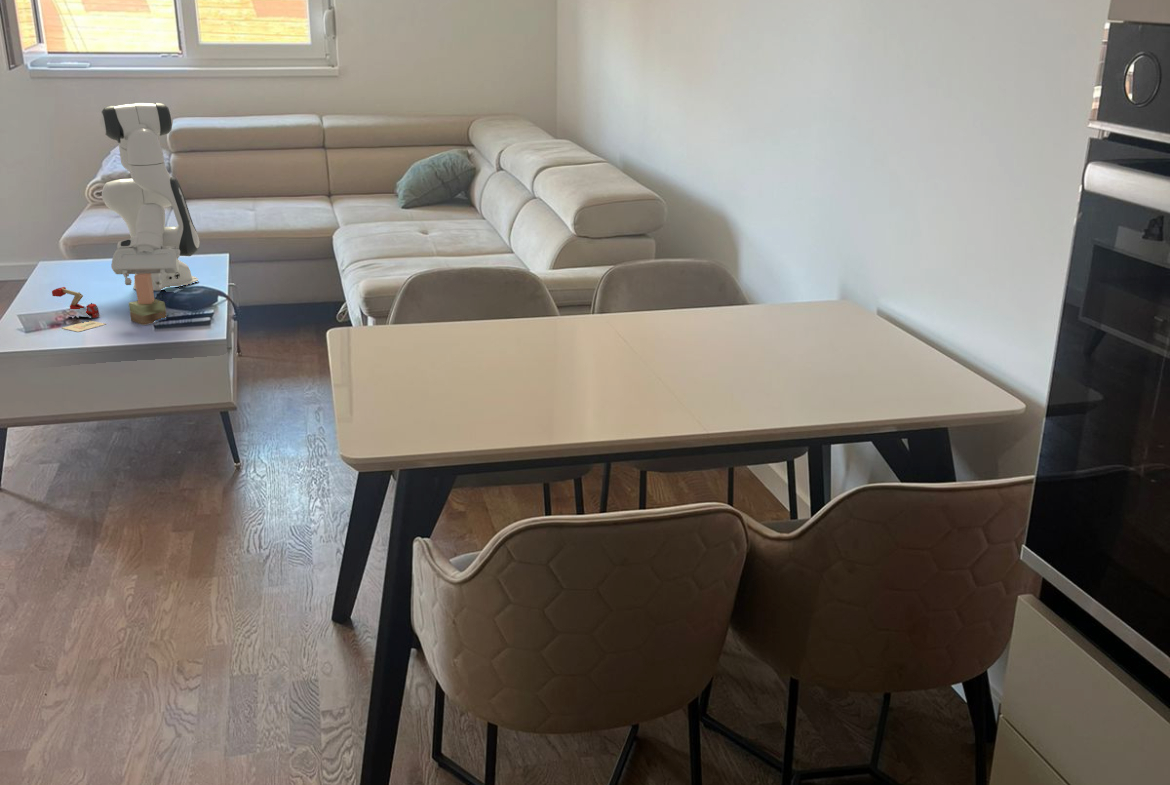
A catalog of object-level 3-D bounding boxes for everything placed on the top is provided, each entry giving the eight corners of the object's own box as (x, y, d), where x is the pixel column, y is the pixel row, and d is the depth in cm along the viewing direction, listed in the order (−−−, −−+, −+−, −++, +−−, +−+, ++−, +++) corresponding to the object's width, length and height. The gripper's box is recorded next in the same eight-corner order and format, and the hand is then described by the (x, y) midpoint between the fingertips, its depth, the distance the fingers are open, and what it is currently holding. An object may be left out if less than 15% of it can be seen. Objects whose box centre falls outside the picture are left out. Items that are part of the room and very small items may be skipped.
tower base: (154, 315, 350) (151, 297, 348) (167, 319, 345) (164, 302, 343) (131, 320, 344) (128, 302, 342) (143, 325, 340) (141, 306, 338)
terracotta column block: (141, 300, 345) (137, 273, 342) (154, 300, 345) (150, 273, 342) (138, 304, 341) (134, 276, 338) (151, 303, 341) (147, 276, 338)
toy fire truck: (96, 319, 346) (91, 290, 343) (55, 318, 347) (50, 289, 344) (101, 316, 349) (96, 287, 346) (61, 315, 351) (56, 286, 347)
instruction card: (89, 320, 344) (89, 320, 344) (106, 324, 340) (105, 323, 340) (61, 328, 336) (61, 327, 336) (78, 332, 332) (78, 331, 332)
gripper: (183, 251, 350) (179, 288, 344) (118, 253, 348) (113, 289, 342) (178, 241, 344) (174, 278, 338) (112, 242, 342) (107, 279, 336)
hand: (143, 283), depth 340 cm, fingers open, 8 cm apart
